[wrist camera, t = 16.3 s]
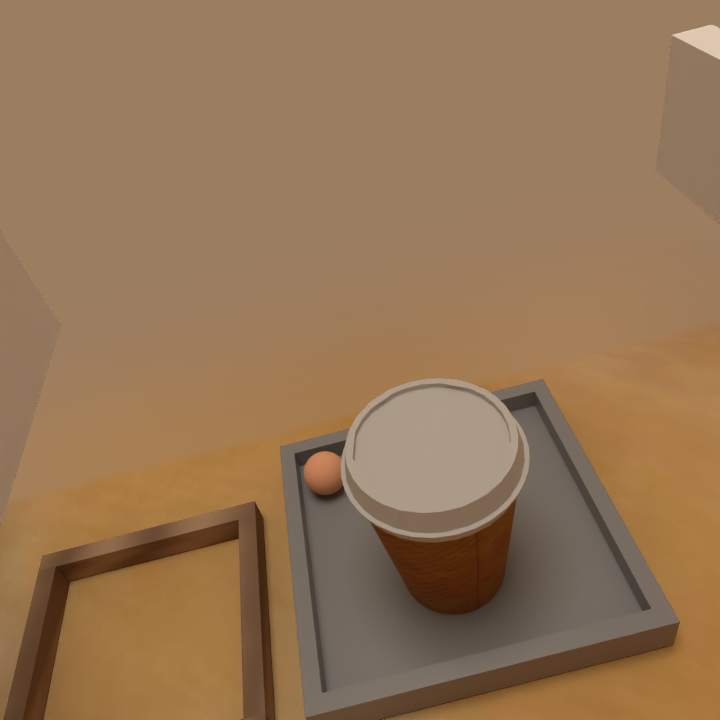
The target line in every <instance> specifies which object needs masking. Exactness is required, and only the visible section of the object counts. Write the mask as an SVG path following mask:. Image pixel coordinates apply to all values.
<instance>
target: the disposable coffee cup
mask: <svg viewBox="0 0 720 720" xmlns="http://www.w3.org/2000/svg"><path fill="white" fill-rule="evenodd" d="M529 460H530V457H529V446H528V443H527V439H526V436H525V434H524V432H523V430H522V428H521V426H520V425H519V423H518V422H517V420H516V419H515V418H514V417H513V416H512V414H511V413H510V412H509V410H508V409H507V407H506V406H505V405H504V404H503V403H502V402H501V401H500V400H499V399H498V398H497V397H496V396H494V395H493V394H491V393H490V392H488V391H487V390H485V389H483V388H481V387H478V386H476V385H473V384H471V383H468V382H463V381H459V380H454V379H425V380H419V381H414V382H409V383H406V384H403V385H401V386H398V387H395V388H392V389H390V390H388V391H387V392H385V393H384V394H382V395H380V396H379V397H377V398H376V399H374V400H372V401H371V402H370V403H369V404H368V405H367V406H366V407H365V408H364V409H363V410H362V411H361V412H360V413H359V415H358V416H357V417H356V418H355V420H354V422H353V424H352V426H351V428H350V430H349V432H348V436H347V439H346V443H345V447H344V449H343V454H342V459H341V479H342V482H343V486H344V490H345V492H346V494H347V496H348V497H349V499H350V501H351V503H352V504H353V506H354V507H355V508H356V510H357V511H358V512H359V513H360V514H361V515H362V516H363V517H364V518H366V519H367V520H368V521H370V522H371V524H372V526H373V528H374V529H375V531H376V533H377V535H378V537H379V538H380V540H381V542H382V544H383V545H384V547H385V549H386V551H387V553H388V554H389V556H390V558H391V560H392V561H393V563H394V565H395V567H396V568H397V570H398V572H399V574H400V575H401V577H402V579H403V581H404V583H405V584H406V587H407V588H408V590H409V592H410V593H411V595H412V596H413V597H414V598H415V599H416V600H417V601H418V602H419V603H420V604H422V605H423V606H424V607H426V608H428V609H430V610H432V611H435V612H439V613H442V614H455V615H456V614H465V613H468V612H472V611H475V610H477V609H479V608H480V607H482V606H484V605H486V604H487V603H488V602H489V601H491V600H492V599H493V597H494V596H495V595H496V594H497V593H498V591H499V589H500V587H501V585H502V583H503V580H504V576H505V569H506V563H507V556H508V550H509V544H510V538H511V531H512V524H513V518H514V512H515V506H516V500H517V497H518V495H519V493H520V492H521V490H522V488H523V486H524V483H525V480H526V477H527V474H528V471H529Z"/></svg>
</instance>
